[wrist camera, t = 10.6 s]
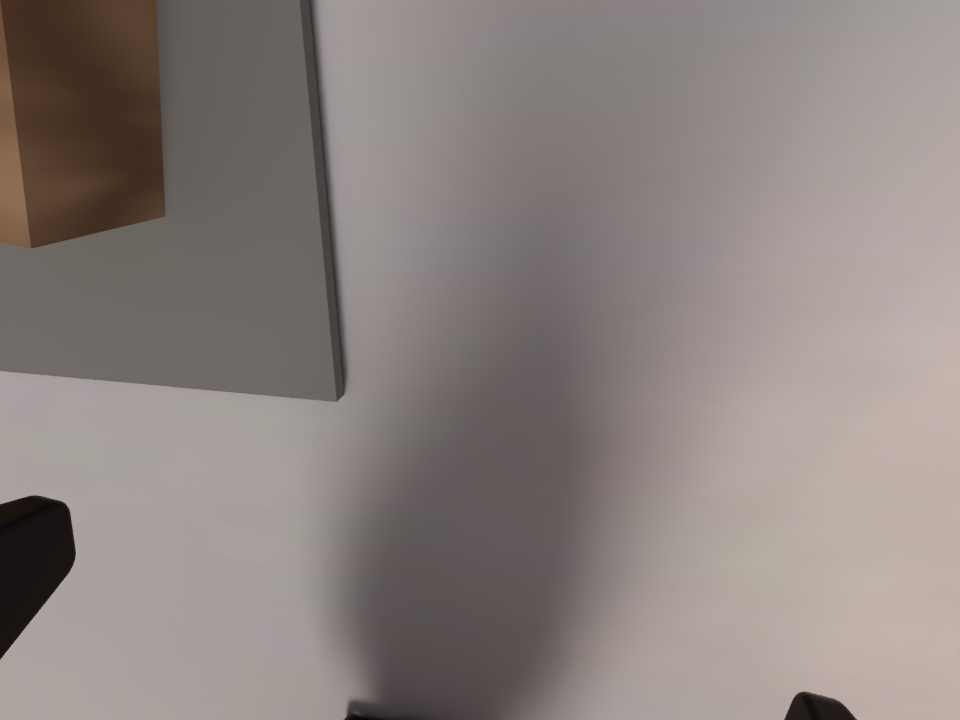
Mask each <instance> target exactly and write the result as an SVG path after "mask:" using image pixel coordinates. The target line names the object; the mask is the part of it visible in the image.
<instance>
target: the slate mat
mask: <svg viewBox="0 0 960 720" xmlns="http://www.w3.org/2000/svg"><path fill="white" fill-rule="evenodd" d="M156 3H157V27H158V52H159V76H160V101H161V125H162V150H163V175H164V199H165V217H161V218H157V219H153V220H149V221H145V222H141V223H136V224H132V225H128V226H124V227H120V228H116V229H111V230H107V231H103V232H99V233H95V234H91V235H86V236H82V237H78V238H74V239H70V240H66V241H61V242H57V243H53V244H49V245H45V246H41V247H36V248H32V249H30V248H25V247H21V246H16V245H12V244H7V243H3V242H0V371H7V372H18V373H29V374H40V375H51V376H62V377H73V378H84V379H94V380H105V381H116V382H127V383H138V384H149V385H160V386H171V387H182V388H193V389H203V390H214V391H225V392H236V393H247V394H258V395H269V396H280V397H291V398H301V399H312V400H323V401H334V402H337V401H338V400H339V399H340V398H341V397H342V396H343V395H344V387H343V376H342V365H341V353H340V342H339V331H338V319H337V308H336V296H335V285H334V274H333V262H332V251H331V239H330V228H329V217H328V205H327V194H326V182H325V171H324V160H323V148H322V137H321V125H320V114H319V103H318V91H317V80H316V68H315V57H314V46H313V34H312V23H311V11H310V0H156Z"/></svg>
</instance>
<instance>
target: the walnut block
mask: <svg viewBox="0 0 960 720" xmlns="http://www.w3.org/2000/svg"><path fill="white" fill-rule="evenodd" d="M161 217H165V199H164V175H163V150H162V125H161V101H160V76H159V52H158V27H157V3H156V0H0V242H3V243H7V244H12V245H16V246H21V247H25V248H30V249H32V248H36V247H41V246H45V245H49V244H53V243H57V242H61V241H66V240H70V239H74V238H78V237H82V236H86V235H91V234H95V233H99V232H103V231H107V230H111V229H116V228H120V227H124V226H128V225H132V224H136V223H141V222H145V221H149V220H153V219H157V218H161Z"/></svg>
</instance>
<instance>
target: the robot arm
mask: <svg viewBox="0 0 960 720" xmlns="http://www.w3.org/2000/svg"><path fill="white" fill-rule="evenodd" d="M75 556H76V550H75V543H74V536H73V529H72V522H71V515H70V510H69V508H68V507H67V505H66V504H65V503H63V502H61V501H58V500H54V499H50V498H46V497H42V496H28V497H25V498H21V499H18V500H14V501H11V502H7V503H4V504H0V659H1V658H2V657H3V655H4V654H5V653H6V652H7V650H8V649H9V648H10V647H11V645H12V644H13V643H14V641H15V640H16V639H17V638H18V636H19V635H20V634H21V633H22V631H23V630H24V629H25V628H26V626H27V625H28V624H29V623H30V621H31V620H32V619H33V617H34V616H35V615H36V614H37V612H38V611H39V610H40V609H41V607H42V606H43V605H44V604H45V602H46V601H47V600H48V599H49V597H50V596H51V595H52V594H53V592H54V591H55V590H56V588H57V587H58V586H59V585H60V583H61V582H62V581H63V580H64V578H65V577H66V576H67V575H68V573H69V572H70V570H71V568H72V566H73V564H74V561H75ZM344 720H369V719H364V718H359V717H353V716H349V717H346V718H345V719H344ZM784 720H857V719H856V718H855V717H854V716H853V715H852V713H851V712H850V711H849V710H848V709H847V708H846V707H845V706H844V705H843V704H842V703H841V702H839V701H837V700H835V699H832V698H828V697H825V696H821V695H817V694H813V693H809V692H800V693H798V694H797V695H796V696H795V697H794V699H793V701H792V703H791V705H790V708H789V710H788V712H787V715H786V717H785V719H784Z"/></svg>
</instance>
